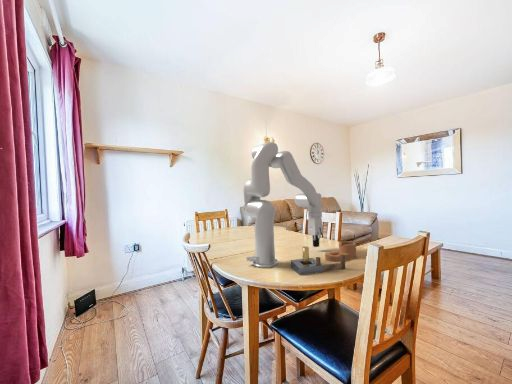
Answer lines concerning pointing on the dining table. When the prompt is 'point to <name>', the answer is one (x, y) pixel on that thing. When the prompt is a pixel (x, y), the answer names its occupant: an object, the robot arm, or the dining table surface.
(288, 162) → the robot arm
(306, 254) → the pin
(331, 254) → the bracket
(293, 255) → the dining table surface
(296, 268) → the collar block
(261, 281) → the dining table surface
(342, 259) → the brown drawer handle
